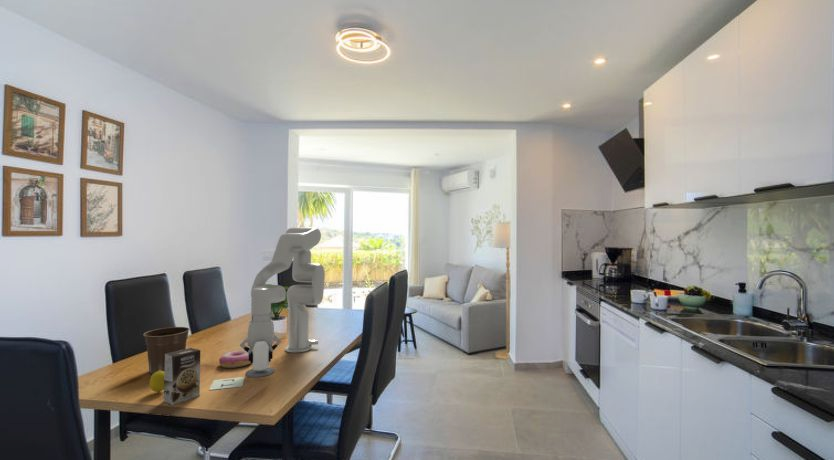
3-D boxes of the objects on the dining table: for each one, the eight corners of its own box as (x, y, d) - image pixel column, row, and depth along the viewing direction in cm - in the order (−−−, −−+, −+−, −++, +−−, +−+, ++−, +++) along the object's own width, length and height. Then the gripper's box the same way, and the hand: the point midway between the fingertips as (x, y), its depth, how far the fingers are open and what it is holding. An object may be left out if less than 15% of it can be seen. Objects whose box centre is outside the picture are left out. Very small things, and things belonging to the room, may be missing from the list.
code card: (244, 377, 154) (244, 376, 154) (242, 386, 145) (242, 386, 145) (213, 380, 151) (213, 379, 151) (209, 390, 141) (209, 389, 141)
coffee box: (172, 405, 129) (173, 356, 129) (163, 401, 132) (163, 353, 132) (200, 396, 136) (201, 349, 137) (190, 392, 140) (191, 346, 140)
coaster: (274, 366, 167) (274, 365, 167) (274, 375, 157) (274, 374, 157) (246, 369, 163) (246, 368, 163) (244, 378, 153) (244, 377, 153)
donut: (260, 361, 174) (260, 350, 174) (238, 371, 162) (238, 359, 162) (236, 358, 178) (236, 347, 178) (212, 367, 166) (212, 356, 166)
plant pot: (132, 374, 157) (133, 333, 158) (170, 361, 173) (171, 325, 173) (161, 379, 152) (162, 337, 152) (198, 366, 167) (198, 328, 167)
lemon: (155, 390, 141) (155, 367, 142) (171, 389, 142) (171, 367, 142) (145, 396, 136) (146, 373, 136) (162, 395, 136) (162, 372, 136)
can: (272, 366, 163) (272, 337, 163) (264, 371, 157) (264, 341, 157) (257, 365, 164) (257, 336, 164) (249, 370, 157) (249, 341, 157)
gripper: (283, 314, 167) (283, 356, 167) (239, 317, 161) (238, 361, 161) (283, 318, 160) (283, 362, 159) (236, 321, 154) (236, 366, 154)
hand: (260, 361), depth 160 cm, fingers closed on can, 6 cm apart
